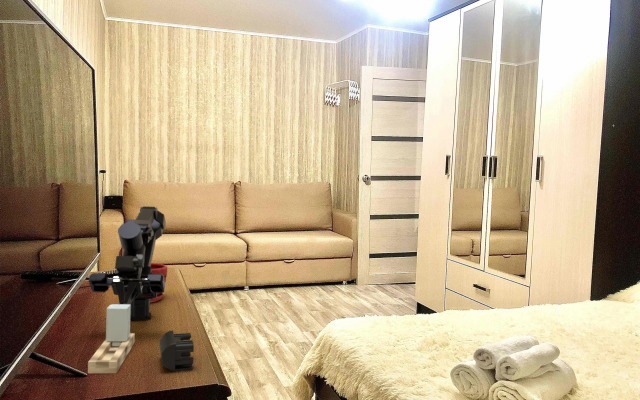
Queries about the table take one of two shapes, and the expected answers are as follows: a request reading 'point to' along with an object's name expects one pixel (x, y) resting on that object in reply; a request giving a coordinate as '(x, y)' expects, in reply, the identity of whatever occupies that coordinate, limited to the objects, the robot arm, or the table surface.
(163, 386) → the table surface
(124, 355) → the beam
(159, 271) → the plant pot
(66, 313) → the table surface
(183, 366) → the end cap
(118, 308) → the block
